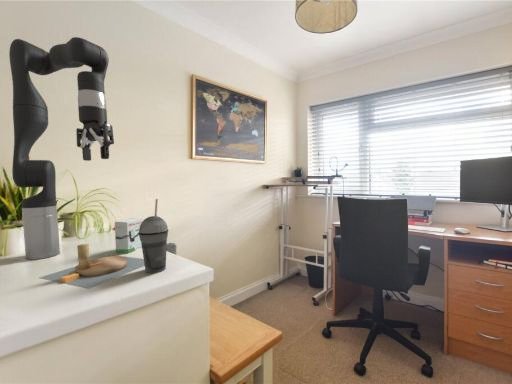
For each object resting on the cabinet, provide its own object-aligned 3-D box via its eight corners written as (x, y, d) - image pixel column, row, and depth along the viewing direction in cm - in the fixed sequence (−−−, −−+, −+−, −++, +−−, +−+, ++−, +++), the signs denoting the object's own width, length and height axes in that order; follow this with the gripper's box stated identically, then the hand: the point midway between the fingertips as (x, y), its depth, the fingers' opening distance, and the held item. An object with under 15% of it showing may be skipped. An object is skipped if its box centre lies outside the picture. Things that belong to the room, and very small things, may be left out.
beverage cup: (146, 271, 70) (142, 198, 69) (173, 269, 71) (169, 197, 70) (136, 281, 63) (131, 200, 62) (166, 279, 64) (162, 199, 63)
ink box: (128, 258, 83) (126, 221, 83) (115, 257, 84) (113, 222, 84) (145, 250, 92) (143, 217, 91) (133, 250, 93) (131, 217, 92)
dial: (110, 259, 77) (109, 234, 77) (136, 264, 72) (135, 238, 71) (65, 272, 67) (63, 244, 66) (92, 280, 61) (90, 249, 61)
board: (39, 283, 64) (38, 273, 64) (112, 259, 82) (112, 251, 82) (88, 295, 56) (88, 283, 56) (157, 265, 75) (157, 257, 74)
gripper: (65, 108, 80) (69, 160, 81) (96, 101, 74) (99, 157, 75) (89, 113, 87) (92, 161, 87) (119, 107, 81) (122, 159, 82)
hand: (96, 159), depth 81 cm, fingers open, 8 cm apart
